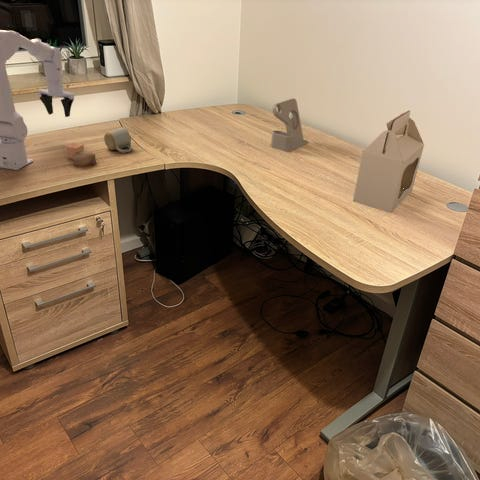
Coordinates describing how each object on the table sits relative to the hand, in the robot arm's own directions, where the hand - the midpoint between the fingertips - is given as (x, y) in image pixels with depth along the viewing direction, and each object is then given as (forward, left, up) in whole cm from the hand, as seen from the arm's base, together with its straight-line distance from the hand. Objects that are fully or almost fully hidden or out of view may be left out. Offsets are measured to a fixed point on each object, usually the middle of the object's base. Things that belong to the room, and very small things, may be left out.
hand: (59, 115), depth 187 cm
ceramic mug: (0, -26, -10) cm, 28 cm away
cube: (-14, -15, -10) cm, 23 cm away
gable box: (-5, -128, -10) cm, 129 cm away
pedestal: (-18, -21, -10) cm, 30 cm away
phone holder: (+33, -88, -10) cm, 94 cm away
